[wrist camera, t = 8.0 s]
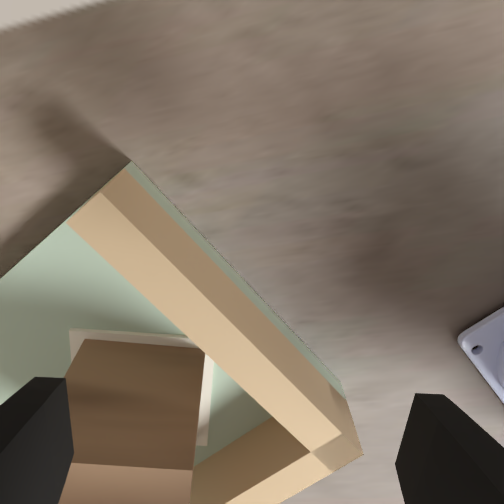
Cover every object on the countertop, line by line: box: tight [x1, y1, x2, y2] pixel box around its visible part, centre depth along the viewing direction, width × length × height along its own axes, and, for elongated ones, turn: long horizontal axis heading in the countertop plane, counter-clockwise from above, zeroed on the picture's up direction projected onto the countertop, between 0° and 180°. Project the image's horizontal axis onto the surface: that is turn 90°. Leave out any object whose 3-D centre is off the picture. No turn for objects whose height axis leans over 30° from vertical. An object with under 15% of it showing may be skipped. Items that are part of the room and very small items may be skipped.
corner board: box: [0, 161, 364, 504], centre depth 19 cm, size 14×19×4 cm
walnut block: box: [58, 339, 205, 504], centre depth 17 cm, size 5×5×6 cm
